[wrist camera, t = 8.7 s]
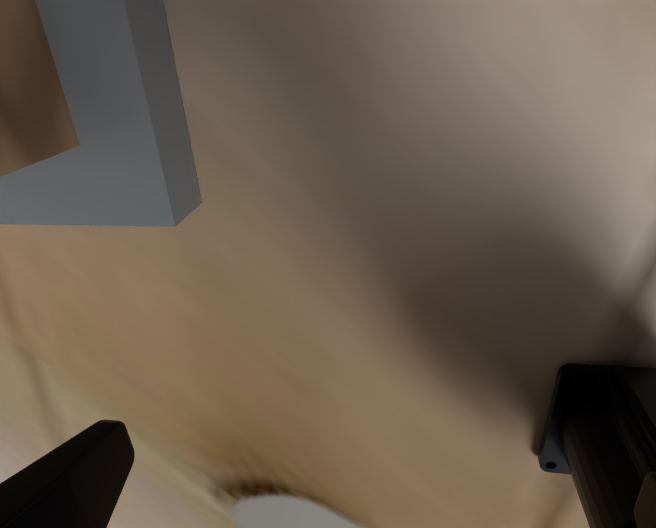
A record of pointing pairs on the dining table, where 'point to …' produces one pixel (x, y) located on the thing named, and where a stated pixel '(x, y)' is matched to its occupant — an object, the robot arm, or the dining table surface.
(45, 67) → the walnut cube
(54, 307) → the dining table surface
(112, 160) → the slate plinth
